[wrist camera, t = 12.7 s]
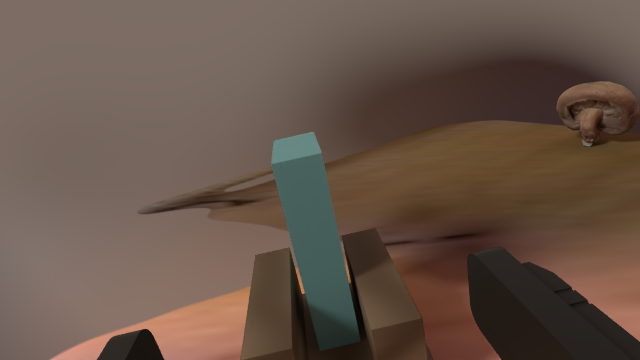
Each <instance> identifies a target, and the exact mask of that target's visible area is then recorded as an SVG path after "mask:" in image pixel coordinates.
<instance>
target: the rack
mask: <svg viewBox="0 0 640 360" xmlns="http://www.w3.org/2000/svg"><path fill="white" fill-rule="evenodd" d="M342 240H343V245H344V250H345V255H346V260H347V265H348V270H349V274H350V279H351V283H350V284H349V287H350V292H351V297H352V302H353V307H354V311H355V316H356V321H357V326H358V331H359V336H360V341H361V342H357V343H352V344H348V345H344V346H339V347H335V348H331V349H327V350H322V351H320V349H319V345H318V341H317V337H316V333H315V330H314V326H313V322H312V318H311V314H310V310H309V307H308V303H307V299H306V295H305V294H302V293H301V289H300V285H299V281H298V278H297V274H296V270H295V266H294V263H293V259H292V255H291V251H290V248H285V249H281V250H276V251H272V252H267V253H263V254H258V255H255V262H254V270H253V276H252V283H251V290H250V297H249V304H248V311H247V318H246V325H245V332H244V339H243V345H242V352H241V359H240V360H434V359H433V357H432V355H431V353H430V351H429V349H428V347H427V345H426V343H425V337H424V329H423V321H422V317H421V315H420V313H419V311H418V309H417V307H416V305H415V303H414V302H413V300H412V298H411V296H410V294H409V292H408V290H407V288H406V286H405V284H404V282H403V280H402V278H401V277H400V275H399V273H398V271H397V269H396V267H395V265H394V263H393V261H392V259H391V257H390V255H389V254H388V252H387V250H386V248H385V246H384V244H383V242H382V240H381V238H380V236H379V234H378V232H377V231H376V229H375V228H374V229H369V230H365V231H360V232H356V233H351V234H347V235H343V236H342Z"/></svg>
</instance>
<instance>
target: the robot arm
mask: <svg viewBox="0 0 640 360" xmlns="http://www.w3.org/2000/svg"><path fill="white" fill-rule="evenodd" d="M467 266H468V280H469V295H470V306H471V310H472V314H473V317H474V319H475V321H476V323H477V325H478V327H479V329H480V330H481V332H482V333H483V335H484V336H485V337H486V339H487V340H488V342H489V343H490V344H491V346H492V347H493V348H494V350H495V351H496V353H497V354H498V355H499V357H500V358H501V360H640V342H639V341H638V340H637V339H636V338H634V337H633V336H632V335H631V334H629V333H628V332H627V331H626V330H624V329H623V328H622V327H621V326H619V325H618V324H617V323H616V322H614V321H613V320H612V319H611V318H609V317H608V316H607V315H606V314H604V313H603V312H602V311H601V310H599V309H598V308H597V307H596V306H594V305H593V304H589V303H588V300H587V299H586V298H584V297H583V296H582V295H581V294H579V293H578V292H577V291H576V290H575V291H573V290H572V287H571V286H569V285H568V284H567V283H566V282H564V281H563V280H562V279H561V278H559V277H558V276H557V275H556V274H554V273H553V272H551V271H549V270H546V269H544V268H542V267H539V266H537V265H535V264H533V263H530V262H527V263H523V264H521V263H520V262H519V261H518V260H516V259H515V258H514V257H513V256H512V255H511V254H509V253H508V252H507V251H506V250H505V249H503V248H502V247H496V248H492V249H488V250H483V251H479V252H475V253H471V254H469V255H468V258H467ZM97 360H164V358H163V356H162V354H161V352H160V349H159V347H158V345H157V343H156V341H155V339H154V337H153V335H152V333H151V332H150V331H149V330H147V329H143V330H139V331H134V332H130V333H126V334H122V335H117V336H114V337H112V338H111V339H110V340H109V341H108V342H107V344H106V346H105V347H104V349H103V351H102V352H101V354H100V356H99V357H98V359H97Z"/></svg>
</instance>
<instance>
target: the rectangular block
mask: <svg viewBox="0 0 640 360" xmlns="http://www.w3.org/2000/svg"><path fill="white" fill-rule="evenodd" d="M271 165H272V169H273V173H274V176H275V180H276V184H277V188H278V192H279V196H280V199H281V203H282V207H283V211H284V215H285V219H286V222H287V226H288V230H289V234H290V238H291V241H292V245H293V249H294V253H295V257H296V261H297V265H298V268H299V272H300V276H301V280H302V284H303V287H304V291H305V295H306V299H307V303H308V307H309V310H310V314H311V318H312V322H313V326H314V330H315V333H316V337H317V341H318V345H319V349H320V351H322V350H327V349H331V348H335V347H339V346H344V345H348V344H352V343H357V342H361V341H360V336H359V331H358V326H357V321H356V316H355V311H354V307H353V302H352V297H351V292H350V287H349V282H348V278H347V273H346V268H345V263H344V258H343V253H342V249H341V244H340V239H339V234H338V229H337V224H336V220H335V215H334V210H333V205H332V200H331V195H330V190H329V186H328V181H327V176H326V171H325V166H324V162H323V157H322V152H321V150H320V147H319V145H318V142H317V139H316V137H315V134H314V132H311V133H306V134H301V135H297V136H293V137H288V138H283V139H279V140H274V144H273V153H272V163H271Z"/></svg>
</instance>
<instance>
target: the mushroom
mask: <svg viewBox="0 0 640 360" xmlns="http://www.w3.org/2000/svg"><path fill="white" fill-rule="evenodd" d="M557 111H558V114H559V116H560V118H561V119H562V120H563V123H564V124H565V126H566V127H568V128H570V129H572V130H580V133H582V135H581V137H582V139H583V140H582V141H583V145H585V146H589V147H590V146H591V145H592V144H593V143H595V142H596V141H598V139H599V137H600V132H599V131H602V132H605V133H606V134H608V135H619V134H622V133H625V132H627V131H629V130H630V129H631V128H632V127H633V126H634V125H635V123H636V121H637V120H638V117H639V106H638V102H637V100H636V98H635V97H634V95H633V93H631V92H630V91H629V90H628V89H626V88H625V87H624V86H621V85H620V84H614V83H612V82H592V83H584V84H580V85H577V86H574V87H572V88H570V89H568V90H566V91H565V92H564V93H563V94H562V95H561V96H560V97H559V99H558V103H557Z"/></svg>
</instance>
